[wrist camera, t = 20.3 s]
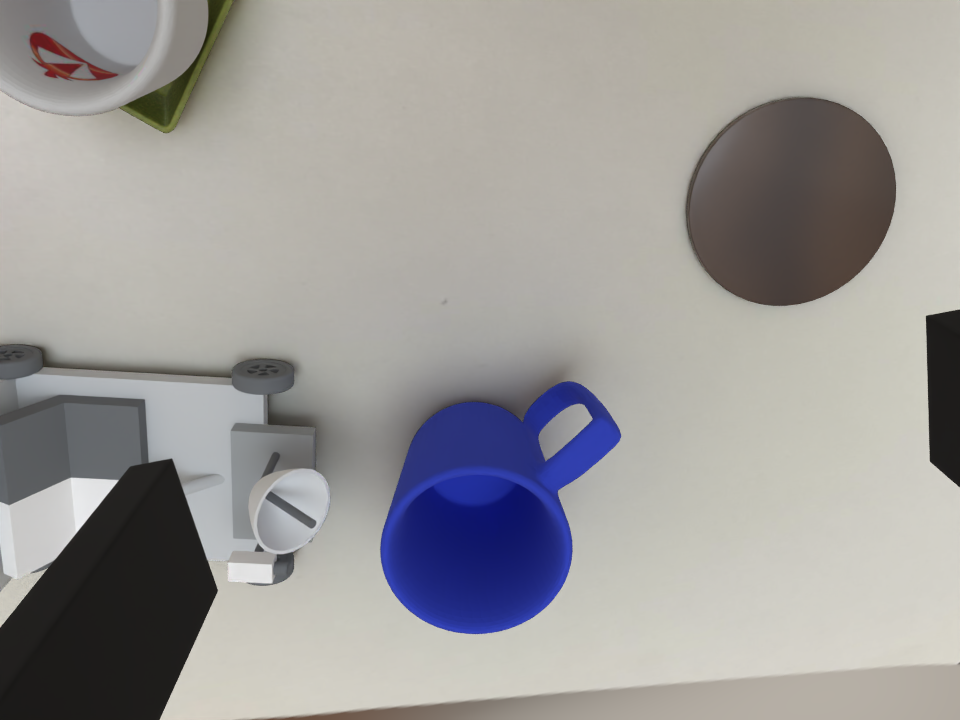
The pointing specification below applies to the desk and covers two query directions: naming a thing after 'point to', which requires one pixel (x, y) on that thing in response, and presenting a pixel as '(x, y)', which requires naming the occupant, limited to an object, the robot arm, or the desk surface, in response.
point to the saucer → (179, 80)
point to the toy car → (155, 459)
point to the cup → (95, 50)
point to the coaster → (791, 201)
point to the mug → (487, 512)
